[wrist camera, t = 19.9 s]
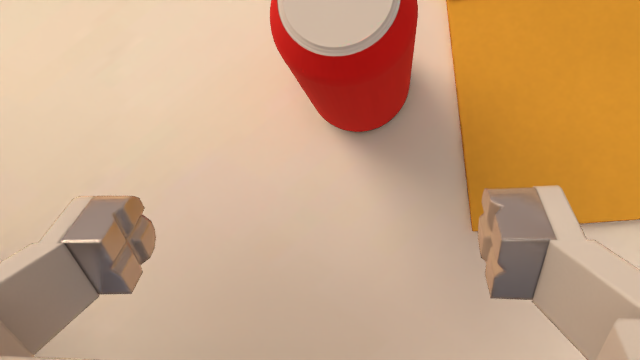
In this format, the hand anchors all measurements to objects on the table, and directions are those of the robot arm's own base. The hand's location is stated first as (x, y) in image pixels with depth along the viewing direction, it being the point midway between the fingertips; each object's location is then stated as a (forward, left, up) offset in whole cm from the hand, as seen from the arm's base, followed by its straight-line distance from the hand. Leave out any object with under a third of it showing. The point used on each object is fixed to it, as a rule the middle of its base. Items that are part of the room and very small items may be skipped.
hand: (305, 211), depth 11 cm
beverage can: (+1, +8, -18) cm, 20 cm away
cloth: (+14, +8, -18) cm, 24 cm away
